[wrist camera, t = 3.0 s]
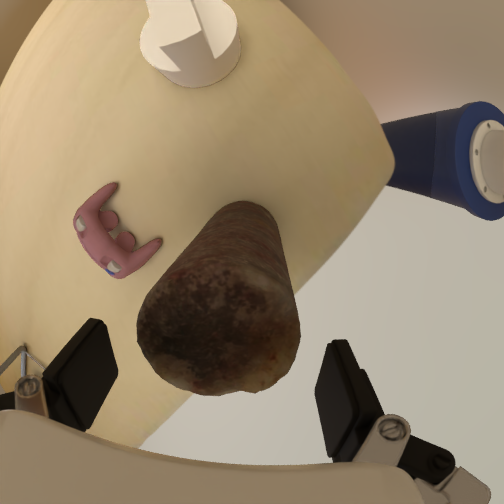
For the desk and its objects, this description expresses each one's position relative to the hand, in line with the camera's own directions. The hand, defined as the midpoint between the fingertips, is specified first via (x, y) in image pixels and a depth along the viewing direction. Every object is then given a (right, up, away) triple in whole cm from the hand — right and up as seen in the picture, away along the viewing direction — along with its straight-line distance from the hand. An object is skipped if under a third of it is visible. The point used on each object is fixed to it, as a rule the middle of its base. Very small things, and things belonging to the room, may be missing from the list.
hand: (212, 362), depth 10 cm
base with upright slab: (-4, +26, +13) cm, 29 cm away
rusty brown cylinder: (+1, +7, +19) cm, 21 cm away
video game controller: (-13, +8, +19) cm, 25 cm away
